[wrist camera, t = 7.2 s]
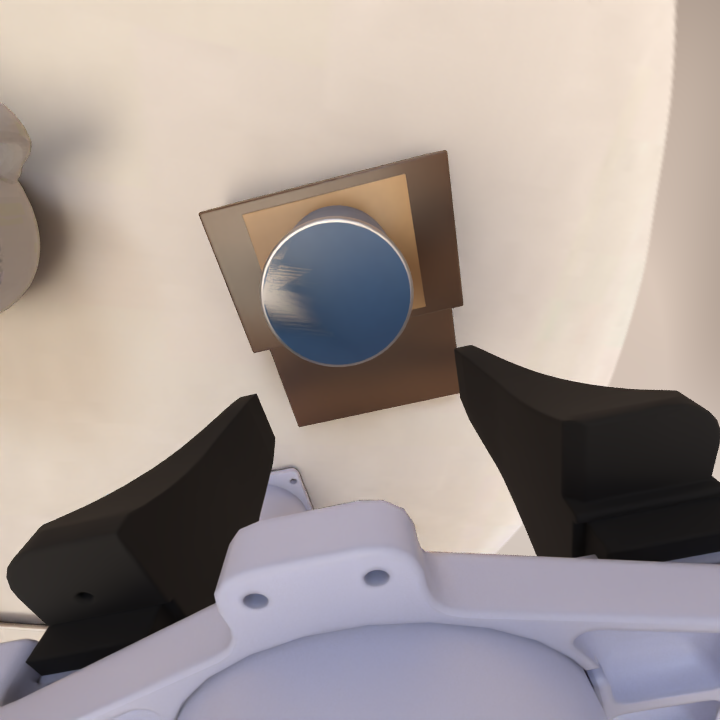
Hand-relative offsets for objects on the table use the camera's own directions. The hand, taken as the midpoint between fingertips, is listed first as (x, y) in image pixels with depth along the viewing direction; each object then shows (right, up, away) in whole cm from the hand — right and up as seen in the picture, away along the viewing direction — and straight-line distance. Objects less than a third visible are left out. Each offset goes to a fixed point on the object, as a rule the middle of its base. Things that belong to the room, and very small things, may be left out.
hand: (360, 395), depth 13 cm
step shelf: (0, +5, +9) cm, 10 cm away
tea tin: (-1, +6, +4) cm, 7 cm away
